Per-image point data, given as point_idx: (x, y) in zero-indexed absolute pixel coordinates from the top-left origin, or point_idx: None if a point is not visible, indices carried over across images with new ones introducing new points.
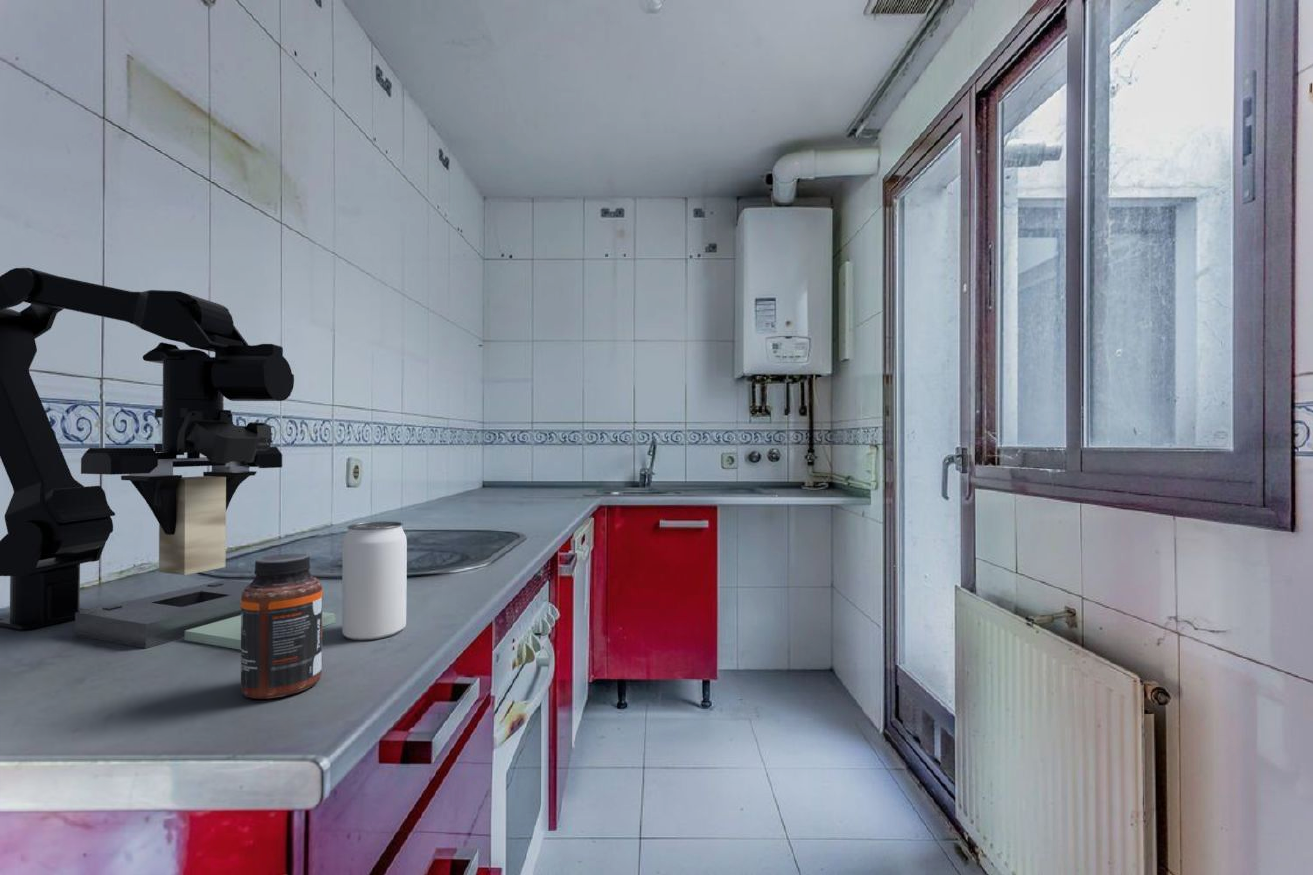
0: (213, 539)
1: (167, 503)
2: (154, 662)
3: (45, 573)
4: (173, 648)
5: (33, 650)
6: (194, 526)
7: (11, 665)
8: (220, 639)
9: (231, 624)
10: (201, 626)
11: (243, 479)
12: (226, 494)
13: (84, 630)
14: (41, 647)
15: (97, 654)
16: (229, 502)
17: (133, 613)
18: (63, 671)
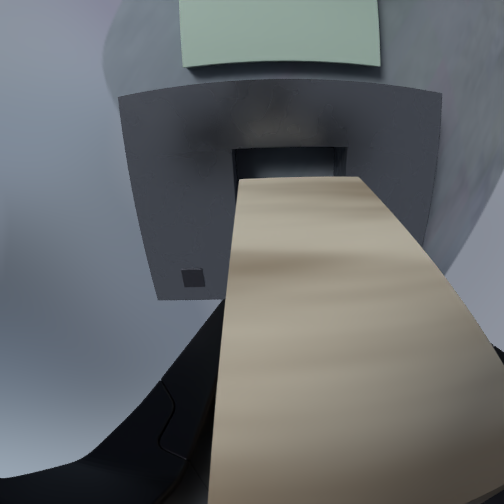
0: (285, 219)
1: (501, 357)
2: (445, 18)
3: None
4: (404, 45)
5: (450, 242)
6: (385, 250)
7: (488, 200)
8: None
9: (319, 15)
10: (352, 60)
11: (46, 477)
12: (181, 418)
13: None
14: (440, 247)
15: (451, 137)
16: (166, 374)
17: (404, 191)
18: (494, 111)
